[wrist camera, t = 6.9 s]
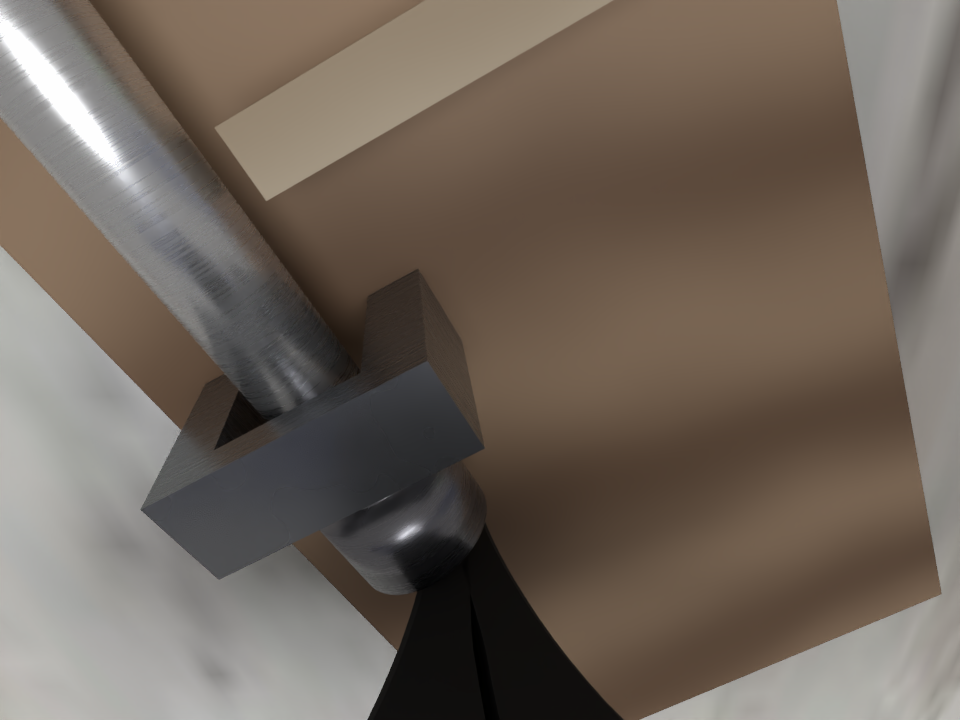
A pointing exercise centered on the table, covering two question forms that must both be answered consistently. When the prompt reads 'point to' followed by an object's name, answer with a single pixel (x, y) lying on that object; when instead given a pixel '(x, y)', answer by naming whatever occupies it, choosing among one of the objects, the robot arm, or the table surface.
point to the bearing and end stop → (321, 440)
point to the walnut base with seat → (568, 294)
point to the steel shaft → (207, 262)
